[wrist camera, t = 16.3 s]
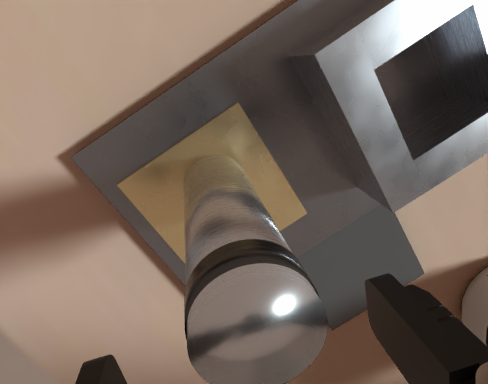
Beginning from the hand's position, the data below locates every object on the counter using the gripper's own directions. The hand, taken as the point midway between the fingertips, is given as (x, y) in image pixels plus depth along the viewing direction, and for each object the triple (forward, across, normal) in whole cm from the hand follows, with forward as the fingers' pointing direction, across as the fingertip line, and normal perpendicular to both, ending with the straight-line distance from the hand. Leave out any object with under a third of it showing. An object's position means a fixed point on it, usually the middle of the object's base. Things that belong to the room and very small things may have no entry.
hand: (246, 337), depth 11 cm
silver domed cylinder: (+10, 0, -2) cm, 10 cm away
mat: (+12, -8, +7) cm, 16 cm away
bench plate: (+12, -7, -3) cm, 14 cm away
